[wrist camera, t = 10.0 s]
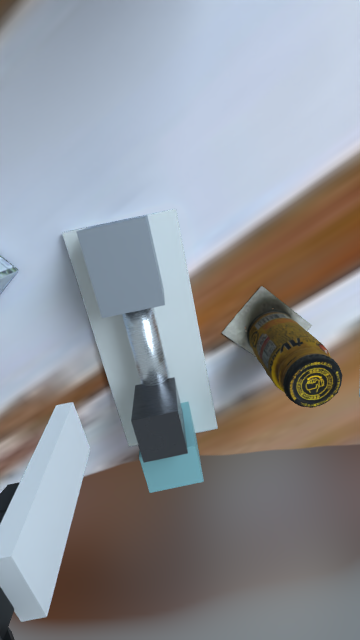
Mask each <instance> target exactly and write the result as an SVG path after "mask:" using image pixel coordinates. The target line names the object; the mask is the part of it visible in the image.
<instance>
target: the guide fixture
mask: <svg viewBox="0 0 360 640" xmlns="http://www.w3.org/2000/svg"><path fill="white" fill-rule="evenodd" d="M62 235H63V238H64V241H65V245H66V248H67V251H68V254H69V257H70V260H71V264H72V267H73V270H74V273H75V276H76V280H77V283H78V286H79V289H80V292H81V296H82V299H83V302H84V305H85V308H86V312H87V315H88V318H89V321H90V324H91V328H92V331H93V334H94V337H95V340H96V343H97V347H98V350H99V353H100V356H101V359H102V363H103V366H104V369H105V372H106V375H107V379H108V382H109V385H110V388H111V391H112V395H113V398H114V401H115V404H116V407H117V411H118V414H119V417H120V420H121V423H122V426H123V430H124V433H125V436H126V439H127V442H128V446H129V447H131V446H136V445H138V442H137V439H136V436H135V432H134V429H133V426H132V422H131V417H132V409H133V400H134V392H135V385H140V384H141V382H140V379H139V375H138V372H137V368H136V364H135V361H134V357H133V353H132V350H131V346H130V342H129V339H128V335H127V331H126V328H125V324H124V320H123V317H122V314H125V313H130V312H135V311H140V310H144V309H149V308H154V309H155V314H156V318H157V322H158V326H159V330H160V335H161V339H162V343H163V347H164V352H165V356H166V360H167V364H168V369H169V373H170V377H171V378H173V377H175V381H176V386H177V390H178V394H179V399H180V403H181V407H182V412H183V417H184V425H185V433H186V441H187V449H188V454H183V455H178V456H174V457H169V458H164V459H159V460H154V461H150V462H145V463H144V462H143V459H142V456H141V452H140V451H139V459H140V462H141V465H142V469H143V472H144V475H145V478H146V482H147V485H148V488H149V491H150V493H151V492H156V491H161V490H166V489H170V488H175V487H180V486H185V485H190V484H195V483H199V482H203V481H204V480H203V475H202V469H201V463H200V457H199V451H198V445H197V439H196V433H198V432H203V431H208V430H213V429H218V427H217V422H216V417H215V412H214V406H213V401H212V396H211V391H210V385H209V380H208V375H207V370H206V364H205V359H204V354H203V349H202V343H201V338H200V333H199V327H198V322H197V317H196V312H195V306H194V301H193V296H192V291H191V285H190V280H189V275H188V270H187V264H186V259H185V254H184V249H183V243H182V238H181V233H180V228H179V222H178V217H177V212H176V209H172V210H167V211H162V212H158V213H153V214H148V215H143V216H139V217H134V218H129V219H124V220H120V221H115V222H110V223H105V224H100V225H96V226H91V227H86V228H81V229H77V230H72V231H67V232H63V233H62Z"/></svg>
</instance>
